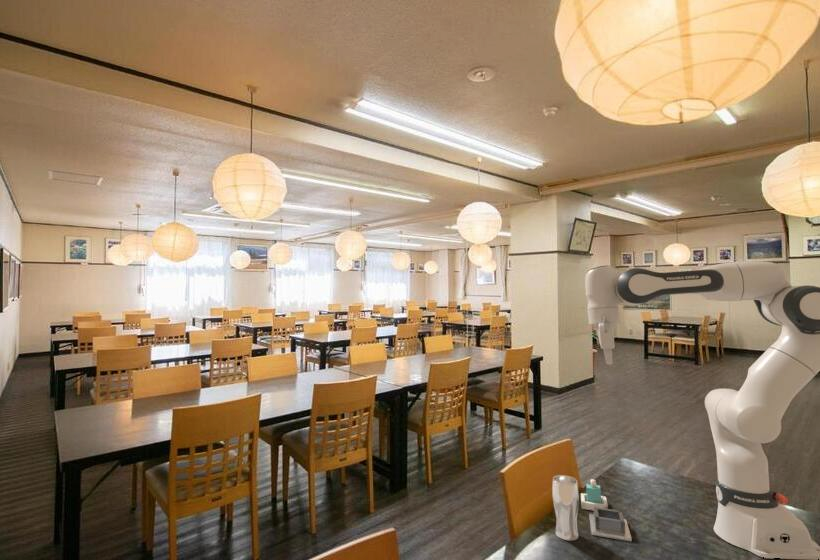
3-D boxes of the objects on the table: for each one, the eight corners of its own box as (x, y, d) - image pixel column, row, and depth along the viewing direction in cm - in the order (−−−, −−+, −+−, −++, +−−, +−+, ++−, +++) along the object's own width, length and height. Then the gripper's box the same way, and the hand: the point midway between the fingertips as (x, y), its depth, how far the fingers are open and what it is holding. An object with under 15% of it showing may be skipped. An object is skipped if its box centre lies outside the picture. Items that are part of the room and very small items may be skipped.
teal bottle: (600, 504, 131) (599, 479, 131) (601, 509, 128) (600, 483, 128) (587, 502, 132) (586, 477, 132) (587, 507, 129) (586, 481, 130)
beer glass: (582, 543, 110) (580, 486, 111) (555, 540, 111) (553, 484, 112) (577, 528, 117) (575, 475, 118) (552, 526, 118) (550, 473, 119)
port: (626, 522, 120) (625, 508, 120) (631, 541, 110) (630, 526, 111) (589, 516, 123) (588, 503, 123) (591, 534, 114) (590, 520, 114)
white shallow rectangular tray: (606, 502, 132) (605, 496, 132) (608, 512, 125) (607, 506, 126) (581, 499, 134) (580, 493, 134) (581, 508, 128) (581, 502, 128)
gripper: (616, 315, 115) (622, 365, 113) (614, 319, 134) (619, 362, 131) (592, 317, 118) (597, 365, 116) (593, 320, 136) (597, 362, 134)
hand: (609, 363), depth 124 cm, fingers open, 8 cm apart
